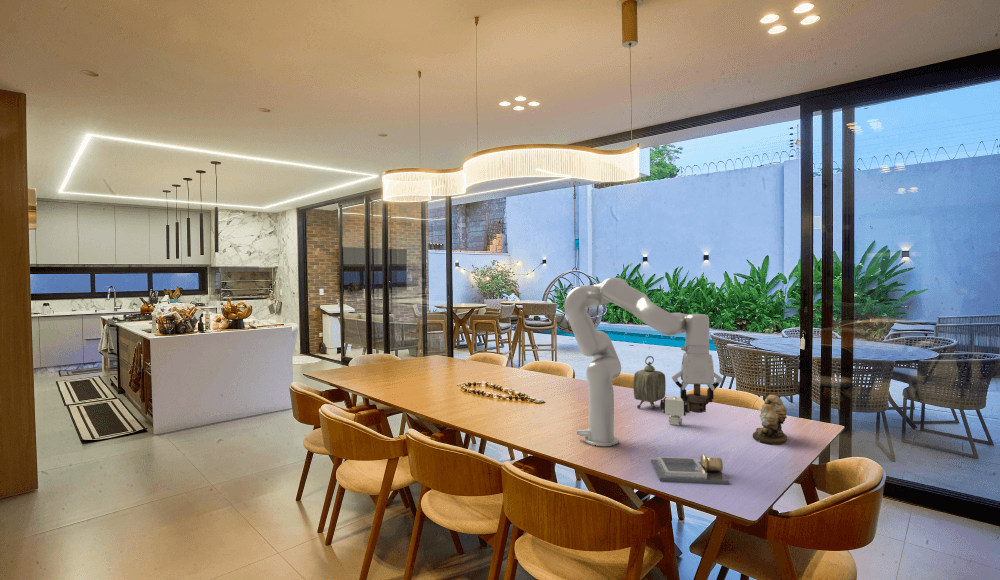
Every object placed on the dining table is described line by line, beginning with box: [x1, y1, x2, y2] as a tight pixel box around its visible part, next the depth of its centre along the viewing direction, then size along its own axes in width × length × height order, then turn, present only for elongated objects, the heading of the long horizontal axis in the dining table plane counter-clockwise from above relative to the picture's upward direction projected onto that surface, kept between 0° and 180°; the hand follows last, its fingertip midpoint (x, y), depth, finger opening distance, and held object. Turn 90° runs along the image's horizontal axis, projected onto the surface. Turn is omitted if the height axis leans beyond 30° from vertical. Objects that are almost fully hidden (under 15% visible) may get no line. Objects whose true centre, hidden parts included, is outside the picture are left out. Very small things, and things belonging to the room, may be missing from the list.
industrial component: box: [686, 384, 710, 414], centre depth 173 cm, size 9×7×12 cm
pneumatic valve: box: [659, 395, 691, 426], centre depth 215 cm, size 6×12×12 cm, turn 61°
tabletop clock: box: [632, 355, 667, 409], centre depth 244 cm, size 14×9×25 cm, turn 130°
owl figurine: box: [752, 394, 788, 446], centre depth 195 cm, size 18×12×17 cm, turn 150°
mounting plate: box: [650, 453, 730, 485], centre depth 160 cm, size 20×16×6 cm
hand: (696, 400), depth 173 cm, fingers closed on industrial component, 8 cm apart
